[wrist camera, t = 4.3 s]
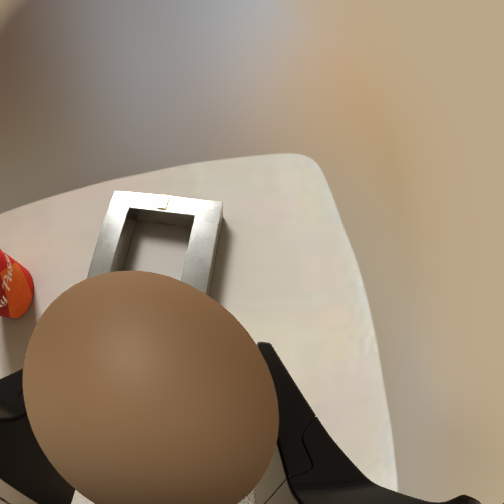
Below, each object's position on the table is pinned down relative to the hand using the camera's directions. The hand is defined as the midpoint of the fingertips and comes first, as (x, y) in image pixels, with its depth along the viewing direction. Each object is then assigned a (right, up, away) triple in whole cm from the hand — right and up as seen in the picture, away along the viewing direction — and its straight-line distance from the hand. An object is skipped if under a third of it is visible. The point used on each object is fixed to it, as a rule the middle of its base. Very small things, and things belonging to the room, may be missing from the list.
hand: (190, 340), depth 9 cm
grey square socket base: (-6, +3, +15) cm, 16 cm away
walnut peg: (-1, -4, +6) cm, 7 cm away
